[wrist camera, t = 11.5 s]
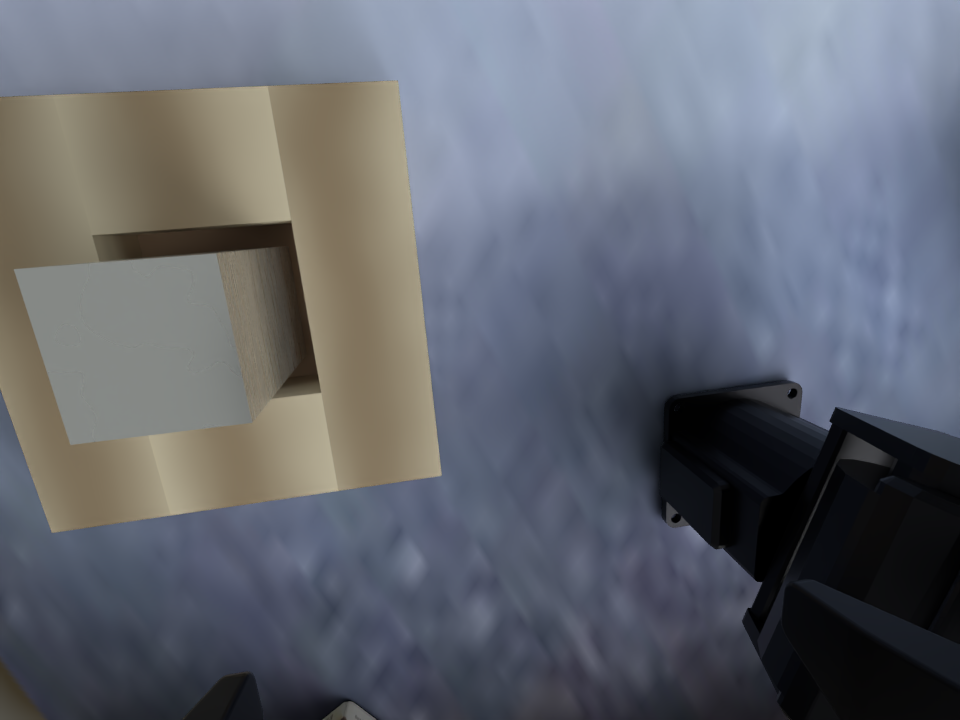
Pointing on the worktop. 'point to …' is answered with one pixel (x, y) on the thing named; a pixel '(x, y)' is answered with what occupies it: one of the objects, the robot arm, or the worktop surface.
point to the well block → (223, 227)
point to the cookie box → (349, 713)
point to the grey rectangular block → (165, 339)
